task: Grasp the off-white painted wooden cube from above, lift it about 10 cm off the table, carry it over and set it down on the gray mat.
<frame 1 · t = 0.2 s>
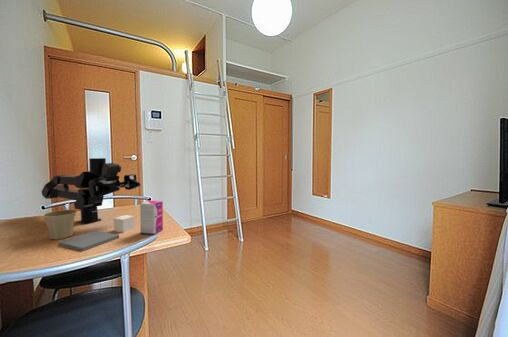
hand: (130, 186, 91), 17 cm above the table, tool horizontal, fingers open, 9 cm apart
flower pot: (61, 237, 83), on the table
gray mat: (90, 241, 79), on the table
supplement box: (152, 232, 88), on the table
off-white cube: (124, 229, 91), on the table
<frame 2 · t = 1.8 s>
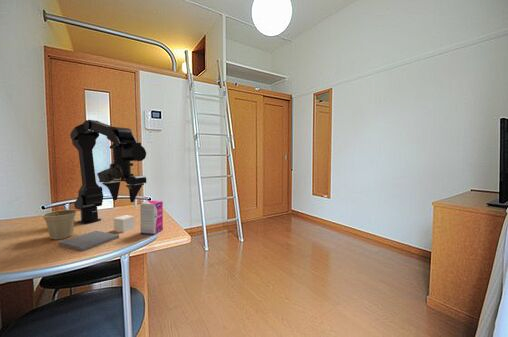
hand: (123, 201, 90), 11 cm above the table, tool pointing down, fingers open, 9 cm apart
nothing on the table moved.
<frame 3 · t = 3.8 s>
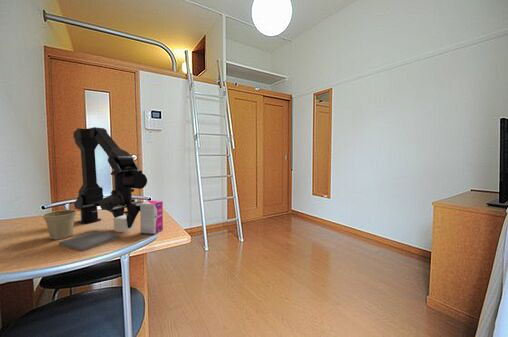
hand: (124, 227, 91), 1 cm above the table, tool pointing down, fingers closed on off-white cube, 5 cm apart
off-white cube: (124, 229, 91), on the table, touching gripper
everything else where it was.
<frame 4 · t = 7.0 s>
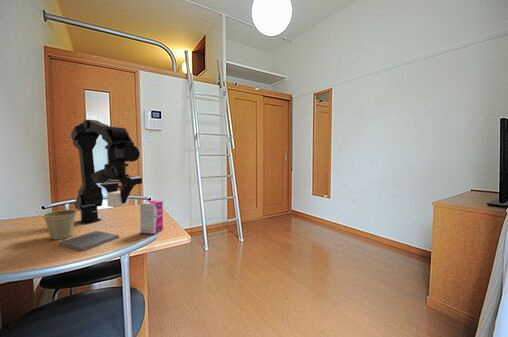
hand: (118, 202, 88), 11 cm above the table, tool pointing down, fingers closed on off-white cube, 5 cm apart
off-white cube: (118, 205, 88), point 10 cm above the table, touching gripper
everything else where it was.
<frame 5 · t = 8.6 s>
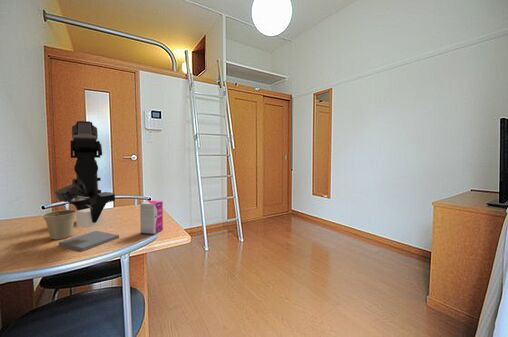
hand: (89, 221, 78), 7 cm above the table, tool pointing down, fingers closed on off-white cube, 5 cm apart
off-white cube: (89, 224, 78), point 6 cm above the table, touching gripper
everything else where it was.
when the fingers open (3 cm above the table, at t = 10.0 s): off-white cube drops 1 cm, resting on gray mat.
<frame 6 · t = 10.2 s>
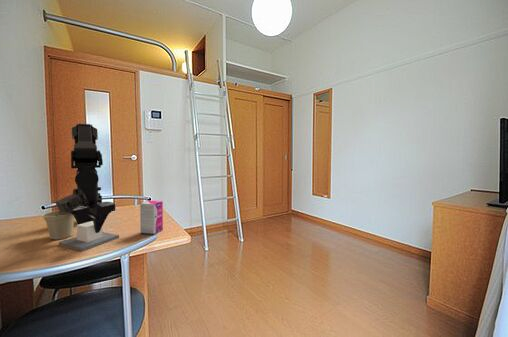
hand: (89, 231, 79), 3 cm above the table, tool pointing down, fingers open, 7 cm apart
off-white cube: (90, 238, 79), point 1 cm above the table, touching gray mat
everything else where it was.
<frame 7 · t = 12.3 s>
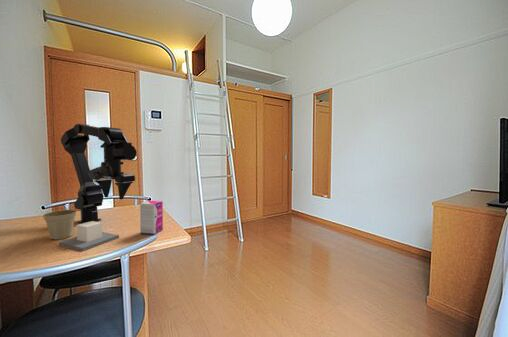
hand: (113, 198, 94), 11 cm above the table, tool pointing down, fingers open, 9 cm apart
nothing on the table moved.
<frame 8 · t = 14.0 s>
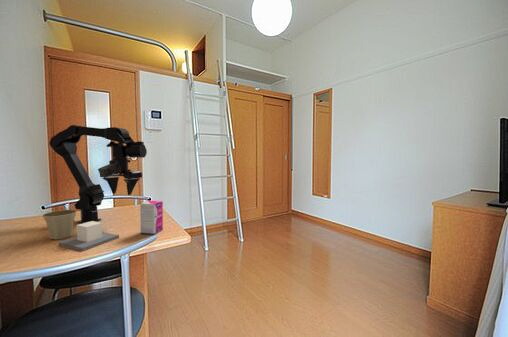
hand: (121, 194, 100), 12 cm above the table, tool pointing down, fingers open, 9 cm apart
nothing on the table moved.
at the end: off-white cube inside the target area on the gray mat (0.0 cm from its centre), point 1.0 cm above the gray mat's base; off-white cube tilted 0°; the gripper is holding nothing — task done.
